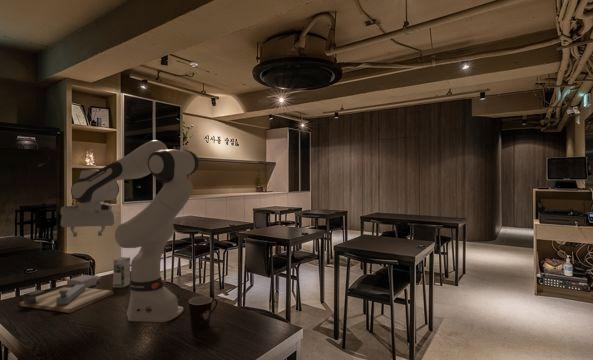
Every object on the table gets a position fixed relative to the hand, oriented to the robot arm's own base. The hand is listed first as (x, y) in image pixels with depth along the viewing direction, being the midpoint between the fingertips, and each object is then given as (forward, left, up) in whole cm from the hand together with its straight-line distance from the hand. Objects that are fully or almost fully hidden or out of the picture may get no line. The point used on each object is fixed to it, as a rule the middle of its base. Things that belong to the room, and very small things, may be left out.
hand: (87, 236), depth 149 cm
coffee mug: (-62, +7, -30) cm, 69 cm away
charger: (+20, -19, -30) cm, 41 cm away
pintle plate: (+10, 0, -30) cm, 31 cm away
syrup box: (+2, -23, -30) cm, 37 cm away
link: (+8, +1, -28) cm, 29 cm away
